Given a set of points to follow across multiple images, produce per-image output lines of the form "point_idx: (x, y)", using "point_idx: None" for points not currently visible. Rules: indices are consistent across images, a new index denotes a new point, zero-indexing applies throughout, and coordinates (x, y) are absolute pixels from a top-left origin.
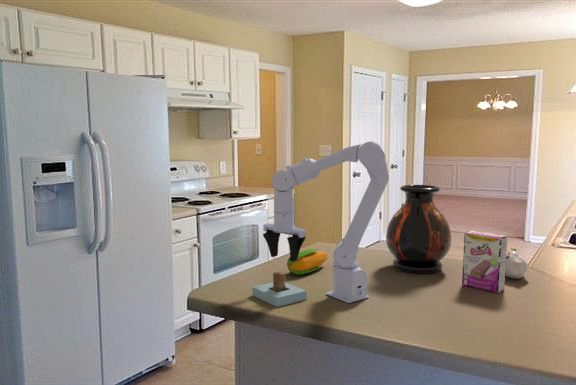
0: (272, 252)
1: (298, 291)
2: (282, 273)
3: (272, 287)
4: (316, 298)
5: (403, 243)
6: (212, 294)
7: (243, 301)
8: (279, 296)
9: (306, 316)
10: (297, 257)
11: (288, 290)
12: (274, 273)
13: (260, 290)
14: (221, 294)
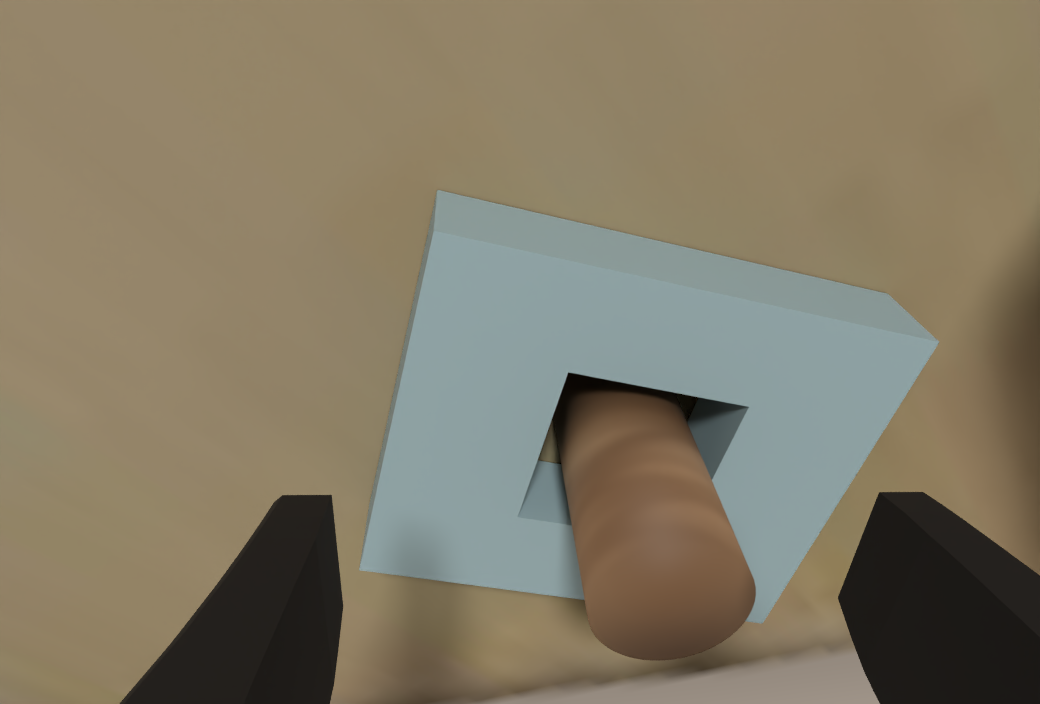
0: (324, 699)
1: (862, 405)
2: (718, 592)
3: (533, 465)
4: (975, 194)
5: None
6: (103, 661)
7: (431, 620)
8: (762, 594)
9: (1026, 556)
10: (969, 535)
11: (749, 445)
12: (626, 642)
13: (508, 589)
14: (152, 626)
